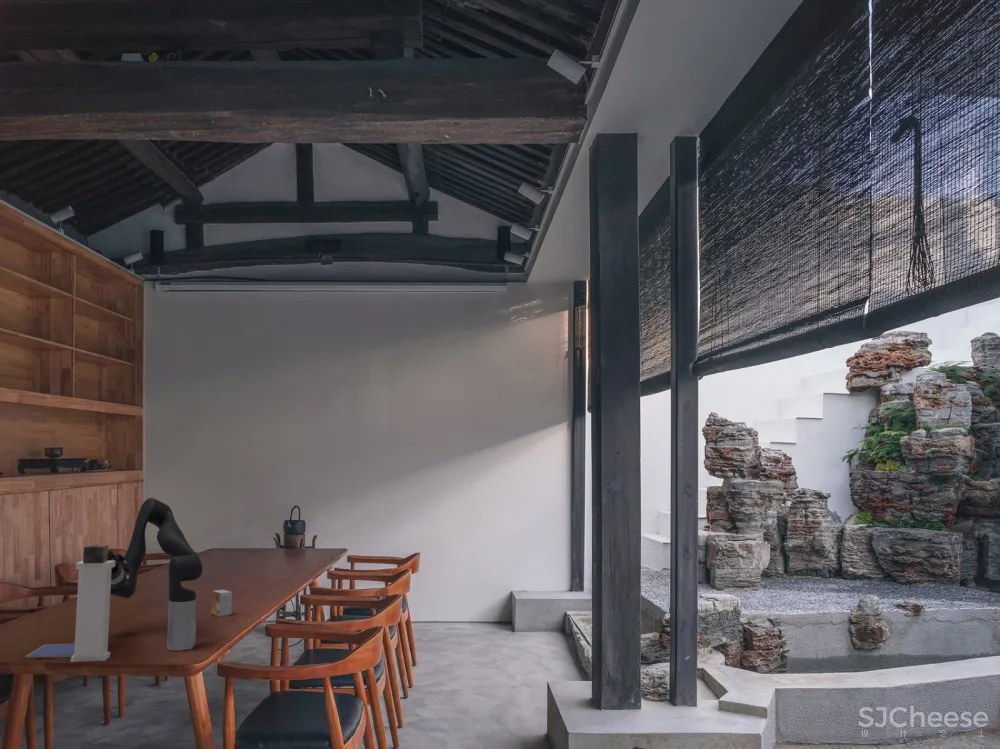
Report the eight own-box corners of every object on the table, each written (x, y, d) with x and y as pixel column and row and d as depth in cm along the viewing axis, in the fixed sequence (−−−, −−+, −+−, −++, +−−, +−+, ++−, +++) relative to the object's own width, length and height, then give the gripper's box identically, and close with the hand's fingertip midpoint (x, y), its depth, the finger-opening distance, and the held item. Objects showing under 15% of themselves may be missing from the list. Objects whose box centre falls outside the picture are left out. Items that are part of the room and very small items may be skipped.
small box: (210, 615, 364) (211, 590, 365) (222, 613, 368) (223, 589, 369) (219, 617, 358) (220, 592, 359) (231, 616, 362) (232, 591, 363)
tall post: (110, 656, 291) (115, 560, 294) (105, 660, 284) (109, 562, 287) (77, 657, 289) (82, 560, 292) (70, 661, 282) (75, 563, 285)
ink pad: (90, 645, 305) (91, 642, 306) (74, 657, 288) (74, 654, 288) (44, 647, 303) (44, 644, 303) (24, 659, 285) (24, 656, 285)
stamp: (114, 557, 301) (115, 542, 302) (102, 563, 286) (103, 546, 287) (96, 557, 300) (96, 542, 301) (82, 563, 285) (83, 547, 286)
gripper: (93, 561, 309) (81, 542, 296) (133, 561, 312) (123, 542, 298) (88, 580, 305) (76, 562, 291) (130, 580, 307) (120, 562, 294)
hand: (100, 552), depth 295 cm, fingers open, 4 cm apart
